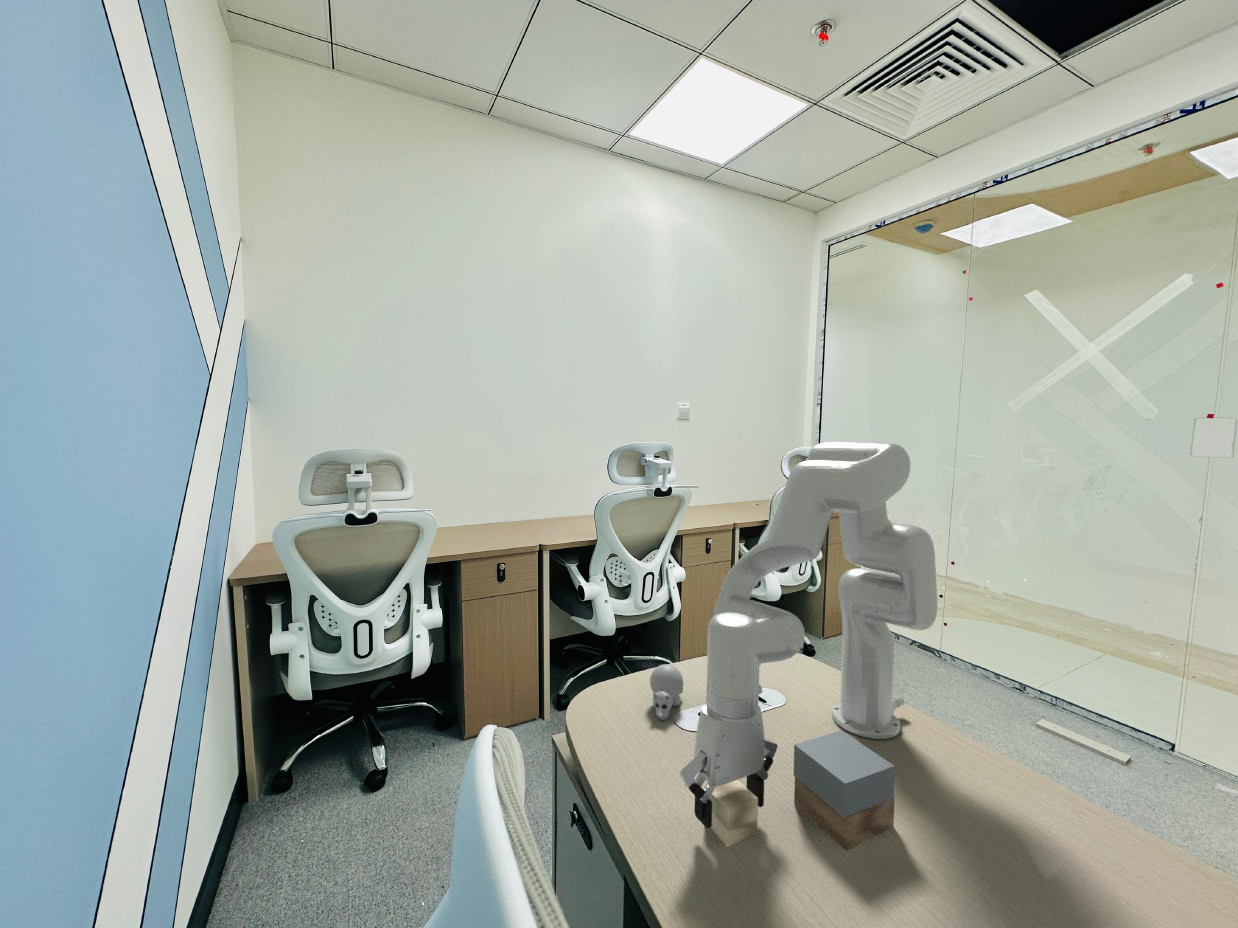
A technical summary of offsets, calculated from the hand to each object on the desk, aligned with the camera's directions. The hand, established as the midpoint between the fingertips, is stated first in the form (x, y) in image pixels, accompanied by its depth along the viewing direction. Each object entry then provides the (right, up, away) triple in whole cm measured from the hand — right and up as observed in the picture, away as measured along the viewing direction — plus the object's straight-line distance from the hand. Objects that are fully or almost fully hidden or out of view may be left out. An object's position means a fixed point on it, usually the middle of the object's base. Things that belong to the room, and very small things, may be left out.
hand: (729, 810), depth 76 cm
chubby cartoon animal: (-7, -1, +34) cm, 34 cm away
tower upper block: (+18, +2, +3) cm, 18 cm away
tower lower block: (+18, -3, +3) cm, 19 cm away
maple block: (0, -3, 0) cm, 3 cm away
